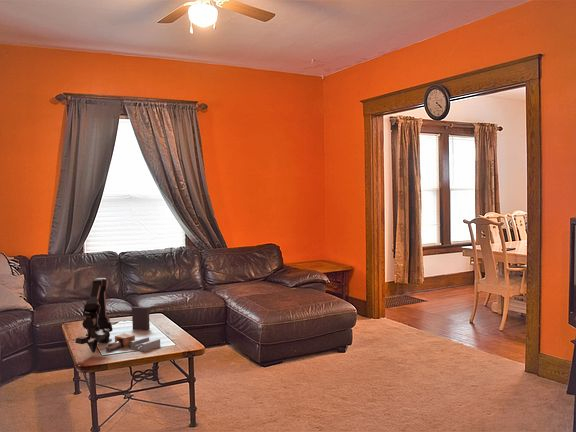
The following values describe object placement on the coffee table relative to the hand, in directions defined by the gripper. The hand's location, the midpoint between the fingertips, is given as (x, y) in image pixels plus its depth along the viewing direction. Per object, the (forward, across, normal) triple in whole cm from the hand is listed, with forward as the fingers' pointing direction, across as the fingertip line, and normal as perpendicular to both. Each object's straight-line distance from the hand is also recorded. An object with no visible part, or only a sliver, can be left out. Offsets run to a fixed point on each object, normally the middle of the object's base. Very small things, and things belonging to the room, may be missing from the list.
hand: (93, 352), depth 297 cm
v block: (+2, +25, -14) cm, 29 cm away
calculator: (+2, +53, +22) cm, 57 cm away
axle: (+2, +17, 0) cm, 17 cm away
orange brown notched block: (+2, +22, 0) cm, 22 cm away
